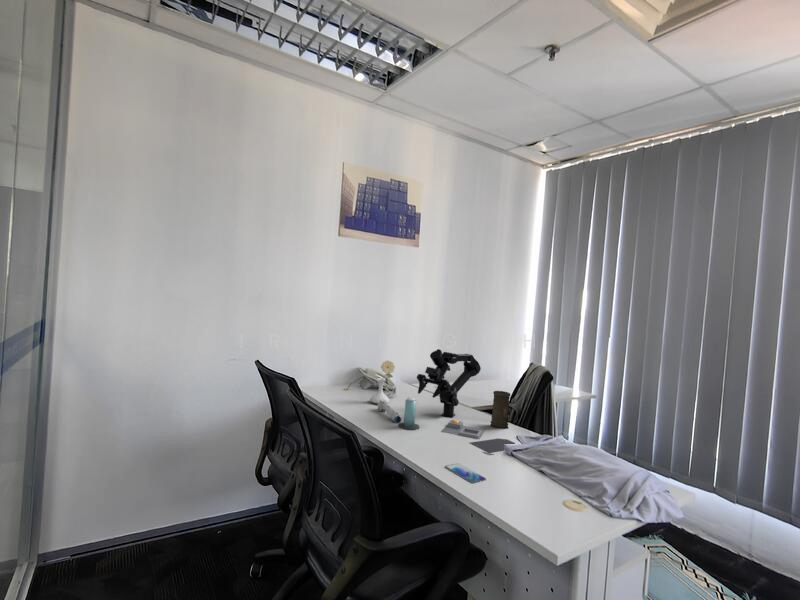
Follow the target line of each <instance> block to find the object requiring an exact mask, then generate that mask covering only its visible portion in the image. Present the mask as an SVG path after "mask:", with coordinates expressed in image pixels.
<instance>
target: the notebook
mask: <svg viewBox="0 0 800 600" xmlns="http://www.w3.org/2000/svg"><path fill="white" fill-rule="evenodd" d="M515 443H516V442H514V441H512V440H509V439H508V438H507V439H506V438H493V439H485V440H484V439H483V440H477V441H472V442H469V444H470V445H472V446H474V447H476V448H478V449H480V450H482V453H483V454H485V455H487V456H494V455H495V454H494V453H498V452H499V453H500V452H505V451H506V450H504V448H503V446H504V444H515Z"/></svg>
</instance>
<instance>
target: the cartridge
mask: <svg viewBox="0 0 800 600" xmlns="http://www.w3.org/2000/svg"><path fill="white" fill-rule="evenodd" d="M404 401H405V403H404V404H405V405H404V413H403V414H404V416H403V422H404V426H406V427H414V424H416V408H417V400H416V398H414V397H407V398H406V399H405V400H404Z"/></svg>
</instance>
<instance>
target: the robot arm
mask: <svg viewBox="0 0 800 600" xmlns="http://www.w3.org/2000/svg"><path fill="white" fill-rule="evenodd" d="M429 357H430V359H431V360H432V362H433V363H432V364H434V365H435V368H434V367H431V366H427V367H426V368H425V371H424V373H425V374H427V376H426V375H425V374H421V373H418V374H417V376H416V379H417V381H418V383H419V385H418V389H417V390H418V391H417V394H418V395H420V394H421V393H422V391H423V390H424V389H425V388H427V385H428V383H429V384H433V385H436V386H437V387H436V389H435V391H434V392H433V395H432V398H433V399H434V398H436V397H439V403H441V404H443V410H442V413H441V414H440V416H443V417H447V416H448V418H454V417H455V416H456V413H454V412H455V407H457V406H459V399H458V393H459V391H460V390H461V389H462V388H463V387H464V385H466V383H467V382H468V381H469V380H470V378H472V377H475V376H477V375H478V374H479V373H480V372H481V369H482V367H481V365H480V363H479V362H478V360H477V359H476V358H474V355H473V354H470V353H453V352H447V351H443V352H442V350H441V349H436V350H434V351H432V352H431V353H430V355H429ZM458 362H463V364H462V365H463V366H464V367H463V372H462V373H461V374H460V375H459V376H458V377H457V378H456V379H455V380H454V382H453V383H452V384H450V382H449V379H445V375H446V373H447V372H448V371H451V368H450V367H451V366H450V365H455V364H457V363H458ZM449 364H450V365H449ZM427 377H428V378H427Z"/></svg>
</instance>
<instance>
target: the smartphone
mask: <svg viewBox="0 0 800 600" xmlns="http://www.w3.org/2000/svg"><path fill="white" fill-rule="evenodd" d="M444 468H445V469H446V468H447V470H448V469H449V470H448V471H450V470H451V471H450V472H452V473H453V472H454V475H457V476H458V475H459V477H460V478H461V479H463V478H464V480H465V481H467V482H469V483H470V482H471V484H477V483H481V482H485V481H487V478H486V477H484V476H482V475H481V474H478V473H477V472H476V471H473V470H471V469H470V468H468V467H466V466H465V465H462V464H461V463H452V464H451V463H450V464H447V465H445V466H444ZM484 480H485V481H484ZM480 481H481V482H480Z"/></svg>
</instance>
